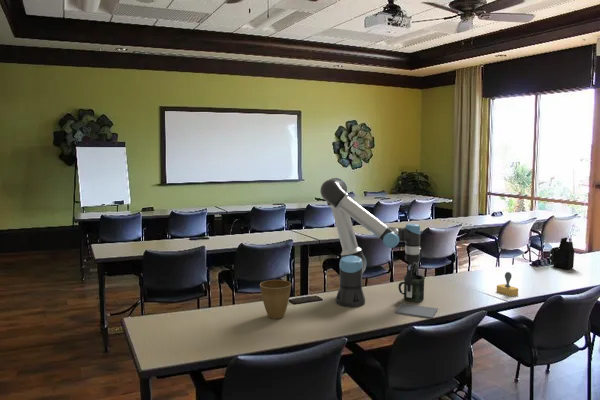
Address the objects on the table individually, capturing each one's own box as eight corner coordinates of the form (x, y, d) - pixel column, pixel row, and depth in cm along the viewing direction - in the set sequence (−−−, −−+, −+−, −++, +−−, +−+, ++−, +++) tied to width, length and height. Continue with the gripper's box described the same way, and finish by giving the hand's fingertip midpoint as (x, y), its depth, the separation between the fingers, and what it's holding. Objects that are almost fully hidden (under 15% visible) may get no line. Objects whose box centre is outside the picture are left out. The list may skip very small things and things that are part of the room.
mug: (428, 301, 263) (429, 278, 261) (403, 304, 258) (404, 281, 257) (417, 295, 273) (418, 273, 271) (393, 297, 269) (394, 275, 267)
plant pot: (297, 314, 243) (297, 282, 241) (280, 323, 230) (280, 290, 228) (271, 309, 250) (271, 277, 249) (253, 318, 238) (253, 285, 236)
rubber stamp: (518, 294, 274) (519, 273, 273) (511, 296, 271) (512, 274, 270) (503, 290, 283) (504, 269, 281) (496, 291, 280) (497, 270, 279)
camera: (554, 264, 341) (556, 235, 339) (574, 268, 330) (576, 238, 328) (546, 266, 335) (548, 236, 333) (566, 270, 324) (568, 240, 322)
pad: (394, 313, 245) (394, 311, 244) (402, 304, 257) (402, 303, 257) (432, 318, 237) (432, 317, 237) (437, 309, 249) (437, 308, 249)
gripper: (414, 258, 251) (413, 301, 254) (424, 249, 272) (423, 288, 275) (399, 257, 254) (399, 299, 257) (410, 248, 275) (410, 287, 278)
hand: (411, 294), depth 266 cm, fingers closed on mug, 11 cm apart
